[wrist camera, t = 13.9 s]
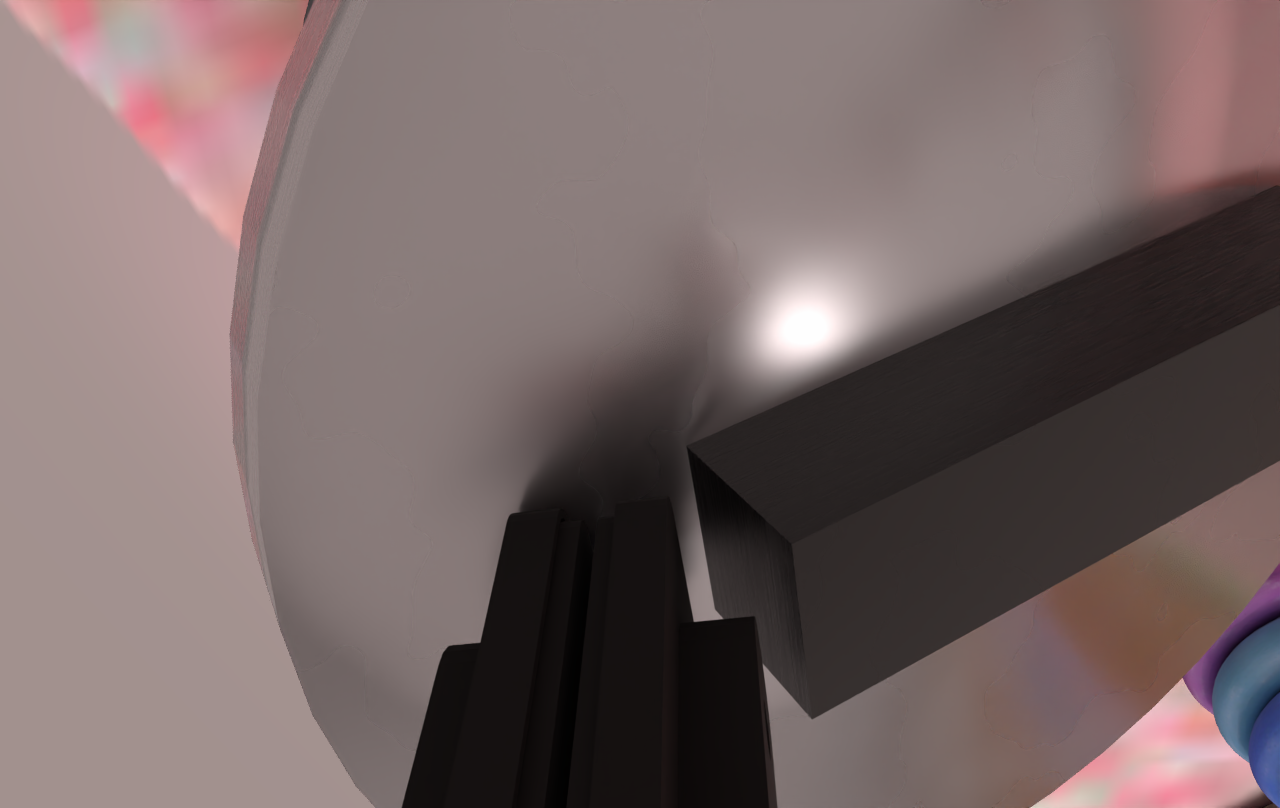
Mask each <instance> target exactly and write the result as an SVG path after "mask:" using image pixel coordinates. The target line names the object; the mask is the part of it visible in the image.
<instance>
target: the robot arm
mask: <svg viewBox="0 0 1280 808" xmlns="http://www.w3.org/2000/svg"><path fill="white" fill-rule="evenodd" d="M402 808H778V807H777V796H776V784H775V773H774V761H773V750H772V739H771V729H770V720H769V711H768V702H767V694H766V686H765V678H764V670H763V663H762V656H761V649H760V642H759V635H758V629H757V623H756V618H755V616H750V617H739V618H729V619H719V620H708V621H698V622H694V620H693V614H692V609H691V604H690V598H689V593H688V588H687V582H686V577H685V572H684V566H683V561H682V556H681V550H680V545H679V540H678V534H677V529H676V524H675V518H674V513H673V508H672V504H671V500H670V497H669V496H663V497H654V498H645V499H636V500H627V501H618V502H617V503H616V506H615V515H614V516H608V517H599V518H598V519H597V525H596V534H595V543H594V552H593V548H592V544H591V540H590V536H589V532H588V528H587V525H586V522H585V520H583V519H581V520H572V521H569V520H568V517H567V514H566V512H565V510H564V509H563V508H555V509H546V510H537V511H527V512H518V513H512V514H510V515H509V517H508V520H507V523H506V528H505V532H504V537H503V541H502V546H501V551H500V555H499V560H498V564H497V569H496V573H495V578H494V582H493V587H492V592H491V596H490V601H489V605H488V610H487V614H486V619H485V623H484V628H483V633H482V637H481V642H480V643H471V644H460V645H450V646H448V647H447V648H446V649H445V651H444V652H443V654H442V657H441V659H440V662H439V665H438V669H437V673H436V676H435V680H434V684H433V688H432V692H431V696H430V700H429V704H428V707H427V711H426V715H425V719H424V723H423V727H422V731H421V734H420V738H419V742H418V746H417V750H416V754H415V758H414V762H413V765H412V769H411V773H410V777H409V781H408V785H407V789H406V792H405V796H404V800H403V804H402Z"/></svg>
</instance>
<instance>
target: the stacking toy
mask: <svg viewBox="0 0 1280 808" xmlns="http://www.w3.org/2000/svg"><path fill="white" fill-rule="evenodd" d="M1183 679H1184V682H1185V684H1186V685H1187V687H1188V689H1189V690H1190V692H1191V694H1192V695H1193V696H1194V698H1195V699H1196V700H1197V701H1198V702H1199V703H1200V704H1201V705H1202V706H1203V707H1204V708H1205V709H1207V710H1208V711H1209V712H1211V713H1212V714H1213V715H1214V717H1215V721H1216V724H1217V726H1218V728H1219V730H1220V733H1221V734H1222V736H1223V737H1224V739H1225V740H1226V742H1227V743H1228V744H1229V745H1230V747H1231V748H1232V749H1233V750H1234V751H1235V752H1236V753H1237V754H1238V755H1239V756H1241V757H1242V758H1243V759H1245V760H1246V761H1248V762H1249V763H1250V767H1251V770H1252V773H1253V776H1254V778H1255V780H1256V782H1257V784H1258V785H1259V787H1260V789H1261V790H1262V791H1263V792H1264V794H1265V795H1266V796H1267V797H1268V798H1269V799H1270V800H1271V801H1272V802H1273V803H1274V804H1275V805H1276V806H1278V807H1279V808H1280V563H1279V565H1278V566H1277V567H1276V569H1275V570H1274V571H1273V572H1272V574H1271V575H1270V576H1269V578H1268V579H1267V580H1266V581H1265V583H1264V584H1263V585H1262V587H1261V588H1260V589H1259V590H1258V592H1257V593H1256V594H1255V595H1254V597H1253V598H1252V599H1251V601H1250V602H1249V603H1248V604H1247V606H1246V607H1245V608H1244V610H1243V611H1242V612H1241V613H1240V614H1239V616H1238V617H1237V618H1236V619H1235V620H1234V621H1233V622H1232V624H1231V625H1230V626H1229V627H1228V628H1227V629H1226V630H1225V632H1224V633H1223V634H1222V635H1221V636H1220V637H1219V638H1218V640H1217V641H1216V642H1215V643H1214V644H1213V645H1212V646H1211V647H1210V649H1209V650H1208V651H1207V652H1206V653H1205V654H1204V655H1203V657H1202V658H1201V659H1200V660H1199V661H1198V662H1197V663H1196V664H1195V665H1194V666H1193V667H1192V668H1191V669H1190V670H1189V671H1188V672H1187V673H1186V674H1185V675H1184V676H1183Z"/></svg>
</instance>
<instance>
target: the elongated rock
mask: <svg viewBox="0 0 1280 808" xmlns="http://www.w3.org/2000/svg"><path fill="white" fill-rule="evenodd" d="M1263 808H1279V807H1278V806H1276V805H1275V804H1269V805H1268V806H1265V807H1263Z"/></svg>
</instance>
